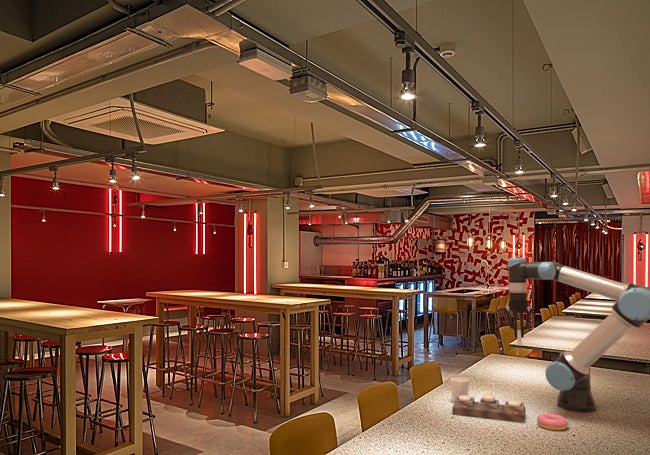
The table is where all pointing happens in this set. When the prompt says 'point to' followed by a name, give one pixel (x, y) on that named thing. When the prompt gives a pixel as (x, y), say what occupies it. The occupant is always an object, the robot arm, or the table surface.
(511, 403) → the button near
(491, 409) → the panel
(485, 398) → the button mid
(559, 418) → the doughnut
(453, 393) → the tan paper cup
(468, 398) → the button far
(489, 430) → the table surface
